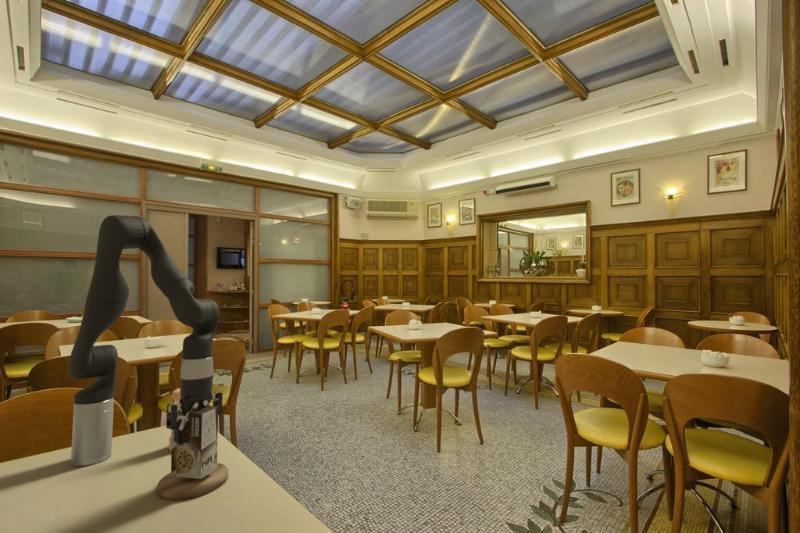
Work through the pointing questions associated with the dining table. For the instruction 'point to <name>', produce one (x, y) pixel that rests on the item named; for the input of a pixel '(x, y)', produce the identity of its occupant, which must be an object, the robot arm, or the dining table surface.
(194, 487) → the disc
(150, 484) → the dining table surface
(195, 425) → the coffee box
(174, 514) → the dining table surface
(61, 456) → the dining table surface
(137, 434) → the dining table surface
